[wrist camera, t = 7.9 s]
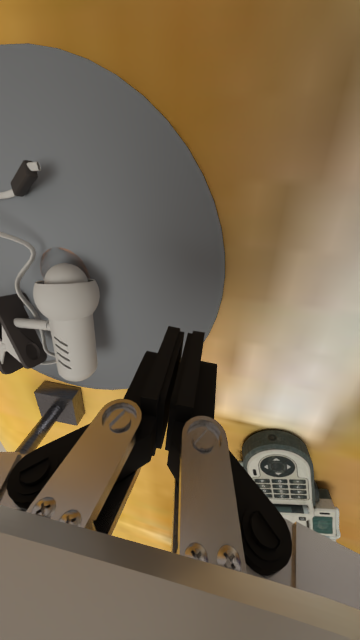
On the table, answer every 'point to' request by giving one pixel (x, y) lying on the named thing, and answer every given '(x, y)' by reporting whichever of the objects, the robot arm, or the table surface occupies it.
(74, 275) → the clip-on lamp
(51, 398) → the square-base wall hook
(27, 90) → the mat
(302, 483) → the communication device
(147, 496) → the table surface
